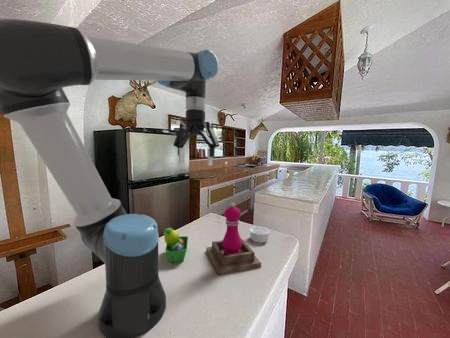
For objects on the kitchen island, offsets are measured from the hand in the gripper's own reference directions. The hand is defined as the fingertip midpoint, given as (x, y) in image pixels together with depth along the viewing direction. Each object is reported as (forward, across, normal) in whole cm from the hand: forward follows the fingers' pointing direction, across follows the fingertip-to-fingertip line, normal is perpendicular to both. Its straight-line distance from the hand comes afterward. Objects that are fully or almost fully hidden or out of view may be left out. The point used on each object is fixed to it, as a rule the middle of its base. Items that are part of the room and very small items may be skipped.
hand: (195, 164), depth 79 cm
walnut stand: (+35, -17, 0) cm, 39 cm away
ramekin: (+35, -21, -21) cm, 46 cm away
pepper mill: (+33, -17, 0) cm, 37 cm away
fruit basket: (+35, +3, +8) cm, 36 cm away
